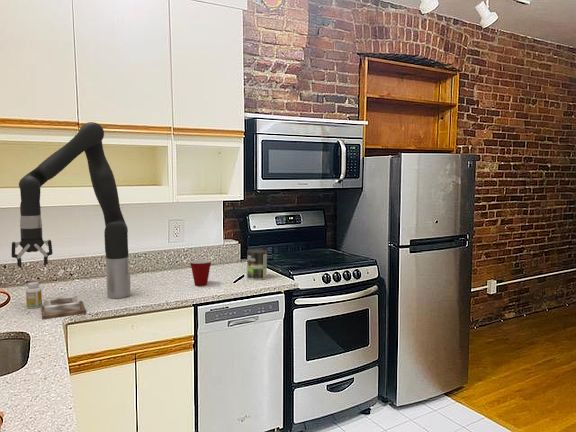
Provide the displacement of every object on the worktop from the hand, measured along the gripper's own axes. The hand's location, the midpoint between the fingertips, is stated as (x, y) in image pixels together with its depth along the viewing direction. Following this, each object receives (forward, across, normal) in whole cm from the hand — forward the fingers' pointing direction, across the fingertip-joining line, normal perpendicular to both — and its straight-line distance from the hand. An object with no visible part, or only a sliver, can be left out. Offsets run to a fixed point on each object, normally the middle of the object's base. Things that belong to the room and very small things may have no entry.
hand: (32, 266), depth 182 cm
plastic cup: (+16, -70, -1) cm, 72 cm away
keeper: (+16, -10, +12) cm, 22 cm away
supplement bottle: (+17, 0, 0) cm, 17 cm away
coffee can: (+16, -100, -1) cm, 101 cm away
